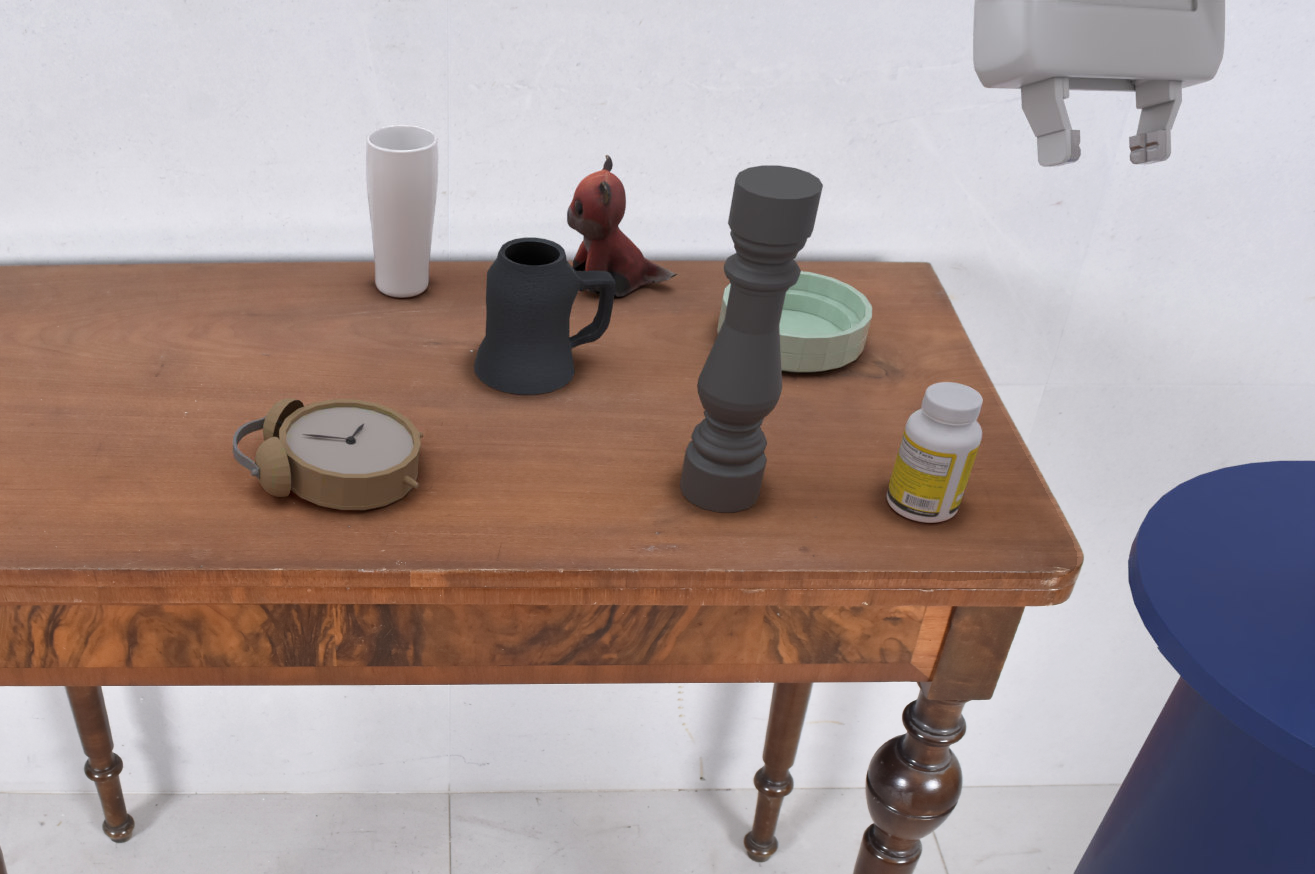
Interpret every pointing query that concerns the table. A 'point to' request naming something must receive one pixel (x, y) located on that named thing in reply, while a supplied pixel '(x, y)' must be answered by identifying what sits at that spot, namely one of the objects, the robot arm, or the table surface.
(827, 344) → the bowl
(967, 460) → the supplement bottle
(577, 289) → the mug
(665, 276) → the stuffed fox
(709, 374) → the candle holder
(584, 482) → the table surface
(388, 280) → the drinking glass
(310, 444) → the alarm clock
